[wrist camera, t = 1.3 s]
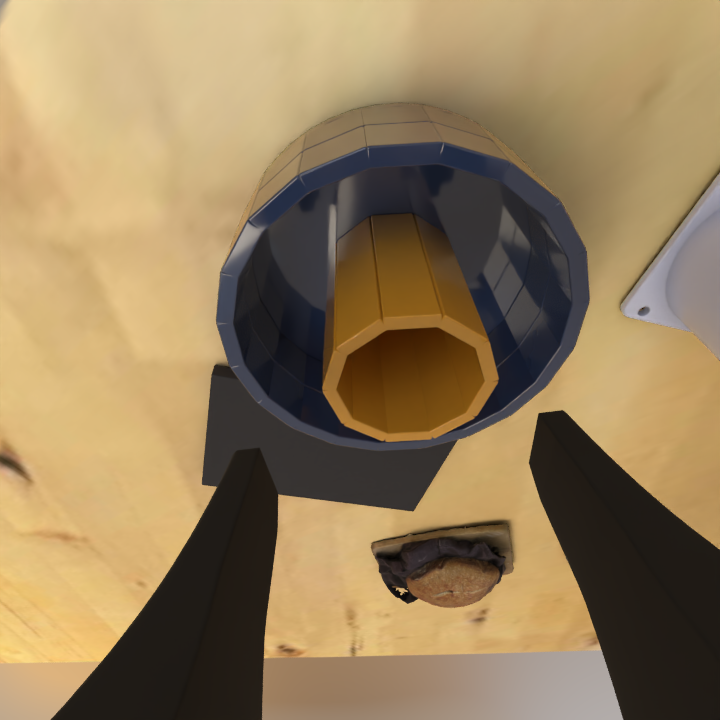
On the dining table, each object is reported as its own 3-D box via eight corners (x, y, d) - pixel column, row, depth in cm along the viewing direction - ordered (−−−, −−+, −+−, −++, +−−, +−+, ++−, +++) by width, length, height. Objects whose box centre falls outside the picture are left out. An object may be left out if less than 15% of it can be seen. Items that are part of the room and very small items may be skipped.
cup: (475, 229, 19) (529, 333, 13) (426, 335, 22) (454, 453, 17) (347, 195, 18) (350, 295, 12) (317, 313, 21) (309, 430, 16)
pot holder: (468, 408, 26) (471, 419, 26) (412, 501, 32) (413, 511, 31) (214, 364, 23) (211, 374, 23) (204, 474, 29) (201, 485, 29)
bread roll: (507, 514, 34) (523, 564, 31) (512, 567, 39) (525, 613, 36) (366, 538, 35) (368, 587, 32) (389, 586, 40) (392, 632, 38)
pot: (602, 157, 18) (675, 209, 14) (466, 393, 25) (488, 468, 22) (263, 53, 15) (236, 81, 11) (228, 350, 23) (206, 426, 19)
